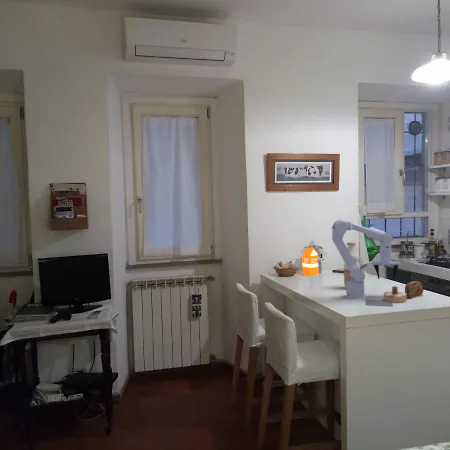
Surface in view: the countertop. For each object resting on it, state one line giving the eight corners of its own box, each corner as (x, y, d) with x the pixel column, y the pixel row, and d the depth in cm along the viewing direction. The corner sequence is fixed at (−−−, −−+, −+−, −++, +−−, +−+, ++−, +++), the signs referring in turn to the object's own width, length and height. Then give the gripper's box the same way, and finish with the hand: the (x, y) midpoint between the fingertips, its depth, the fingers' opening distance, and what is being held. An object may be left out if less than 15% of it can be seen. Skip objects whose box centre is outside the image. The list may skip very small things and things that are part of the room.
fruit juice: (341, 288, 248) (340, 242, 247) (351, 286, 254) (350, 241, 252) (353, 290, 241) (352, 243, 239) (363, 288, 246) (362, 242, 244)
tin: (409, 299, 214) (409, 284, 213) (403, 298, 216) (403, 283, 216) (424, 295, 223) (423, 280, 222) (418, 294, 225) (418, 279, 225)
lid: (383, 296, 209) (383, 288, 209) (383, 292, 220) (383, 284, 219) (406, 298, 205) (406, 289, 205) (406, 293, 215) (405, 285, 215)
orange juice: (310, 276, 294) (309, 248, 293) (302, 274, 301) (301, 247, 300) (318, 274, 298) (317, 247, 297) (310, 273, 305) (309, 246, 304)
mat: (365, 305, 204) (365, 305, 204) (365, 300, 217) (365, 299, 216) (392, 307, 200) (392, 306, 200) (392, 301, 212) (392, 300, 212)
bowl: (384, 302, 210) (383, 296, 209) (383, 297, 220) (383, 292, 220) (407, 303, 206) (407, 297, 206) (405, 298, 216) (405, 293, 216)
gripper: (371, 255, 220) (372, 279, 221) (400, 255, 215) (400, 280, 216) (371, 253, 227) (372, 277, 228) (399, 253, 222) (400, 278, 222)
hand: (386, 278), depth 222 cm, fingers open, 7 cm apart
